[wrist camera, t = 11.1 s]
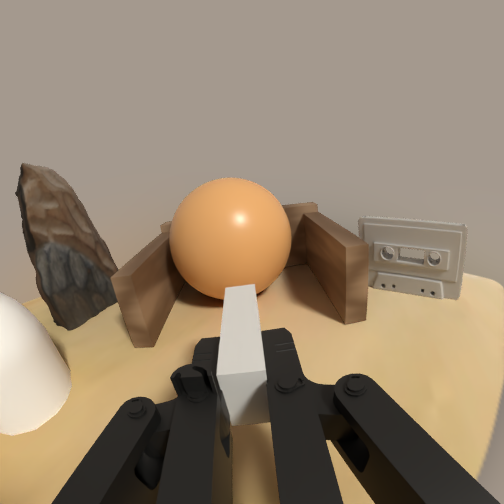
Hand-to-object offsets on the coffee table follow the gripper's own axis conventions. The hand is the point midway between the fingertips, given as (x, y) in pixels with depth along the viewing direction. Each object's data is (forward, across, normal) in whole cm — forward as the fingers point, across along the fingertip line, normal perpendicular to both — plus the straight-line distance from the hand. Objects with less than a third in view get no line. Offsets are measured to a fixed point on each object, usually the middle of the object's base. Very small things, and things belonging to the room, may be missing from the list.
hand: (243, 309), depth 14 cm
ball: (+16, -1, 0) cm, 16 cm away
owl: (+17, -22, -7) cm, 29 cm away
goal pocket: (+16, 0, -7) cm, 17 cm away
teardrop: (-1, -21, -7) cm, 22 cm away
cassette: (+10, +17, -7) cm, 21 cm away
